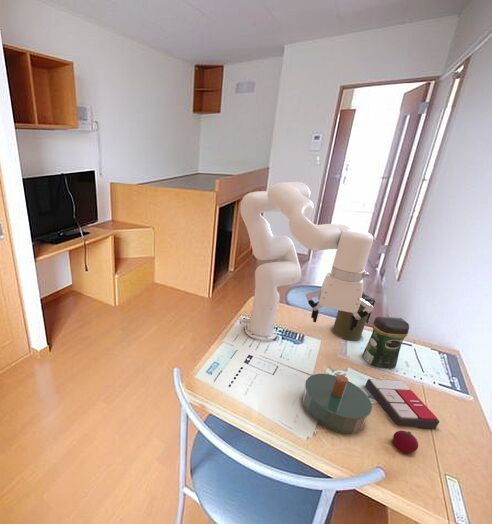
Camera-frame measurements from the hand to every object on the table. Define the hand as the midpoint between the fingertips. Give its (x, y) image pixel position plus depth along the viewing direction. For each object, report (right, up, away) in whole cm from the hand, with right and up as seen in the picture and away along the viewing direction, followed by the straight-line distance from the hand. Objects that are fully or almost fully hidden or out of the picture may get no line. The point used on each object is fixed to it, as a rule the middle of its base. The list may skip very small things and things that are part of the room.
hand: (331, 324), depth 93 cm
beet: (+11, -30, -13) cm, 35 cm away
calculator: (+20, -26, 0) cm, 32 cm away
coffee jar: (+28, -18, +19) cm, 38 cm away
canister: (+28, -11, +35) cm, 47 cm away
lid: (-1, -20, -5) cm, 20 cm away
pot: (-1, -26, -2) cm, 26 cm away
